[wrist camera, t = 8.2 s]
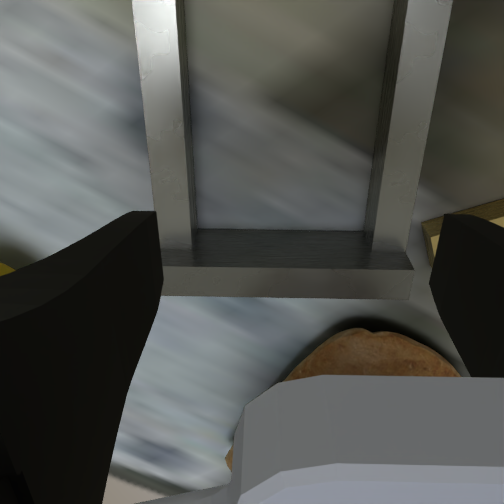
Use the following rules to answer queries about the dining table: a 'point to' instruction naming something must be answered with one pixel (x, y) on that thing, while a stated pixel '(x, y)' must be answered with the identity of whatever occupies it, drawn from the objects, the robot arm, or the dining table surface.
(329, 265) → the socket
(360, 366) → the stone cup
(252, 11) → the dining table surface
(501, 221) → the brass key tag
